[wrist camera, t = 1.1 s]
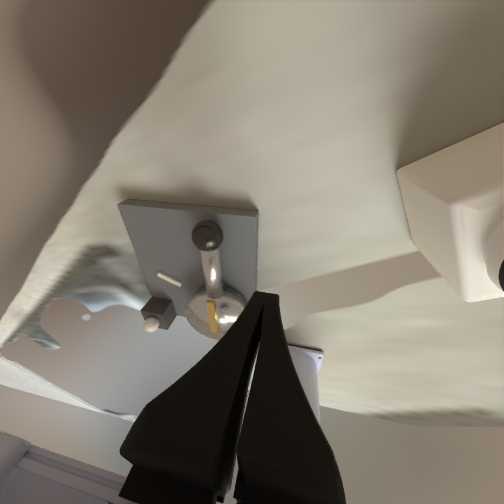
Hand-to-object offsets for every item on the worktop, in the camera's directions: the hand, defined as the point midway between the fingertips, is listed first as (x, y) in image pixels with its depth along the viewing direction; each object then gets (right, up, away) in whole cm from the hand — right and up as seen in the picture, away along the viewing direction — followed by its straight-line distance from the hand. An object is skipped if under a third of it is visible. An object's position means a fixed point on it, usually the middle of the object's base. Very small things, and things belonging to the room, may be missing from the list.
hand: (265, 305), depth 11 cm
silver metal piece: (-5, 0, +11) cm, 12 cm away
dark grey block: (-13, -4, +16) cm, 21 cm away
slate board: (-7, +1, +13) cm, 15 cm away
